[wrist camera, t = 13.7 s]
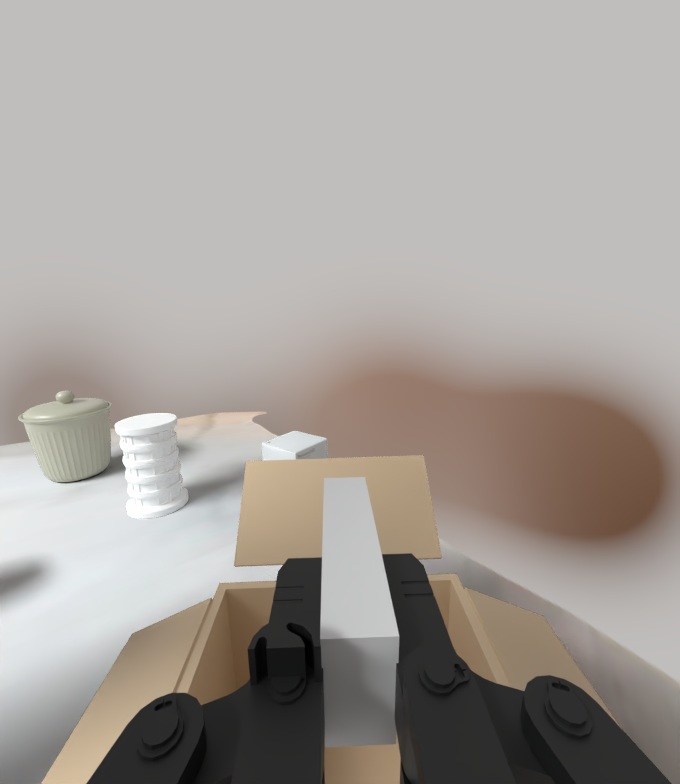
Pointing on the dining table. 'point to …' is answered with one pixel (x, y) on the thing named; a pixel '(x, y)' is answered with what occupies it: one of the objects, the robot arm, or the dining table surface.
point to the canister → (70, 436)
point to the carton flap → (305, 507)
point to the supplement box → (295, 447)
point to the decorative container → (151, 465)
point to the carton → (231, 671)
